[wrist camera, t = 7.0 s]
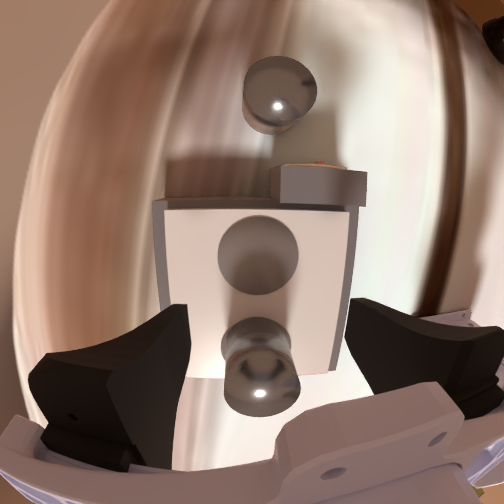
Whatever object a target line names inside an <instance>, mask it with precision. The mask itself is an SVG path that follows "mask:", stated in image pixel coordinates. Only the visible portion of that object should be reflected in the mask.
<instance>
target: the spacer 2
mask: <svg viewBox="0 0 504 504" xmlns="http://www.w3.org/2000/svg"><path fill="white" fill-rule="evenodd" d="M300 390H301V386H300V382H299V378H298V375H297V372H296V368H295V365H294V362H293V358H292V355H291V351H290V348H289V345H288V342H287V338H286V335H285V332H284V330H283V329H282V327H281V326H280V325H279V324H278V323H276V322H275V321H273V320H271V319H268V318H264V317H251V318H247V319H244V320H242V321H240V322H238V323H237V324H236V325H235V326H233V328H232V329H231V330H230V332H229V334H228V336H227V341H226V360H225V381H224V397H225V400H226V402H227V403H228V405H229V406H230V407H231V408H232V409H233V410H235V411H237V412H238V413H241V414H243V415H247V416H252V417H267V416H272V415H276V414H278V413H281V412H283V411H285V410H287V409H288V408H289V407H291V406H292V405H293V404H294V403H295V402H296V400H297V399H298V397H299V394H300Z"/></svg>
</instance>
